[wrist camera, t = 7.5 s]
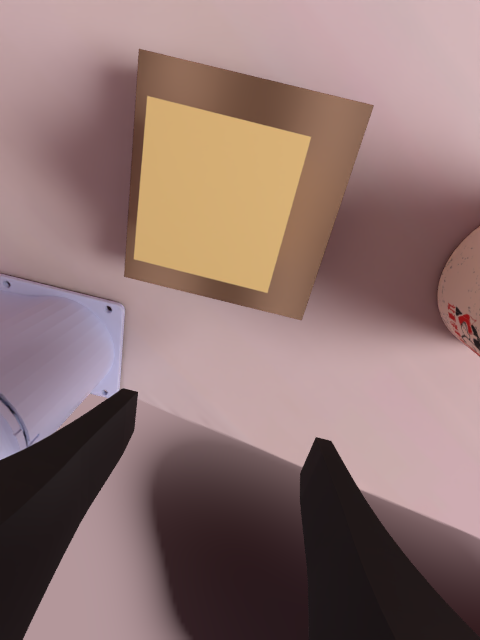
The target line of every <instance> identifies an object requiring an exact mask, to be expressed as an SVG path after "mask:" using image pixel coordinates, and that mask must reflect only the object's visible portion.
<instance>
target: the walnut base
mask: <svg viewBox="0 0 480 640" xmlns="http://www.w3.org/2000/svg"><path fill="white" fill-rule="evenodd" d="M147 96H150V97H154V98H158V99H162V100H166V101H170V102H174V103H178V104H182V105H186V106H190V107H194V108H198V109H202V110H206V111H210V112H214V113H218V114H222V115H226V116H230V117H234V118H238V119H242V120H246V121H250V122H254V123H258V124H262V125H266V126H270V127H273V128H277V129H281V130H285V131H289V132H293V133H297V134H301V135H305V136H309V137H311V140H310V143H309V147H308V151H307V154H306V158H305V161H304V165H303V168H302V172H301V175H300V179H299V183H298V186H297V190H296V193H295V197H294V200H293V204H292V207H291V211H290V215H289V218H288V222H287V225H286V229H285V232H284V236H283V239H282V243H281V247H280V250H279V254H278V257H277V261H276V264H275V268H274V271H273V275H272V279H271V282H270V286H269V289H268V293H265V292H262V291H258V290H254V289H250V288H246V287H242V286H238V285H234V284H230V283H226V282H222V281H218V280H214V279H210V278H206V277H202V276H198V275H194V274H190V273H186V272H182V271H178V270H175V269H171V268H167V267H163V266H159V265H155V264H151V263H147V262H143V261H139V260H135V259H134V249H135V237H136V225H137V213H138V202H139V190H140V178H141V166H142V154H143V142H144V130H145V118H146V106H147ZM373 106H374V105H370V104H366V103H362V102H358V101H354V100H349V99H345V98H341V97H337V96H333V95H329V94H324V93H320V92H316V91H312V90H308V89H304V88H300V87H295V86H291V85H287V84H283V83H279V82H275V81H271V80H266V79H262V78H258V77H254V76H250V75H246V74H241V73H237V72H233V71H229V70H225V69H221V68H217V67H212V66H208V65H204V64H200V63H196V62H192V61H188V60H183V59H179V58H175V57H171V56H167V55H163V54H158V53H154V52H150V51H146V50H142V49H139V56H138V71H137V87H136V102H135V118H134V133H133V148H132V164H131V179H130V194H129V210H128V225H127V241H126V256H125V271H124V277H128V278H132V279H136V280H140V281H144V282H148V283H152V284H156V285H160V286H164V287H168V288H172V289H177V290H181V291H185V292H189V293H193V294H197V295H201V296H205V297H209V298H213V299H217V300H221V301H225V302H229V303H233V304H237V305H241V306H246V307H250V308H254V309H258V310H262V311H266V312H270V313H274V314H278V315H282V316H286V317H290V318H294V319H298V320H302V318H303V315H304V312H305V309H306V306H307V303H308V300H309V297H310V294H311V291H312V288H313V285H314V282H315V279H316V276H317V273H318V270H319V267H320V264H321V261H322V258H323V255H324V252H325V249H326V246H327V243H328V240H329V237H330V234H331V231H332V228H333V225H334V222H335V219H336V216H337V214H338V211H339V208H340V205H341V202H342V199H343V196H344V193H345V190H346V187H347V184H348V181H349V178H350V175H351V172H352V169H353V166H354V163H355V160H356V157H357V154H358V151H359V148H360V145H361V142H362V139H363V136H364V133H365V130H366V127H367V124H368V121H369V118H370V115H371V112H372V109H373Z"/></svg>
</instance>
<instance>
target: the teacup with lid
mask: <svg viewBox="0 0 480 640" xmlns="http://www.w3.org/2000/svg"><path fill="white" fill-rule="evenodd" d="M437 299H438V308H439V312H440V315H441V318H442V320H443V322H444V324H445V325H446V327H447V328H448V329H449V330H450V332H451V333H452V334H453V335H454V336H455V337H457V338H458V339H459V340H460V341H461V342H463V343H464V344H465V345H466V346H467V347H469V348H470V349H471V350H472V351H473V352H475V353H476V354H477V355H478V356H480V226H479V227H478V228H477V229H475V230H474V231H473V232H472V233H471V234H470V235H468V236H467V237H466V238H465V239H464V240H463V241H462V242H461V243H460V245H459V246H458V247H457V248H456V249H455V251H454V252H453V254H452V255H451V256H450V258H449V260H448V262H447V263H446V265H445V267H444V270H443V272H442V275H441V277H440V281H439V286H438V296H437Z"/></svg>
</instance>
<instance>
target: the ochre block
mask: <svg viewBox="0 0 480 640" xmlns="http://www.w3.org/2000/svg"><path fill="white" fill-rule="evenodd" d="M310 140H311V137H309V136H305V135H301V134H297V133H293V132H289V131H285V130H281V129H277V128H273V127H270V126H266V125H262V124H258V123H254V122H250V121H246V120H242V119H238V118H234V117H230V116H226V115H222V114H218V113H214V112H210V111H206V110H202V109H198V108H194V107H190V106H186V105H182V104H178V103H174V102H170V101H166V100H162V99H158V98H154V97H150V96H147V106H146V118H145V130H144V142H143V154H142V166H141V178H140V190H139V202H138V213H137V225H136V237H135V249H134V259H135V260H139V261H143V262H147V263H151V264H155V265H159V266H163V267H167V268H171V269H175V270H178V271H182V272H186V273H190V274H194V275H198V276H202V277H206V278H210V279H214V280H218V281H222V282H226V283H230V284H234V285H238V286H242V287H246V288H250V289H254V290H258V291H262V292H265V293H268V289H269V286H270V282H271V279H272V275H273V271H274V268H275V264H276V261H277V257H278V254H279V250H280V247H281V243H282V239H283V236H284V232H285V229H286V225H287V222H288V218H289V215H290V211H291V207H292V204H293V200H294V197H295V193H296V190H297V186H298V183H299V179H300V175H301V172H302V168H303V165H304V161H305V158H306V154H307V151H308V147H309V143H310Z"/></svg>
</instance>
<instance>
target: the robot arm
mask: <svg viewBox="0 0 480 640" xmlns="http://www.w3.org/2000/svg"><path fill="white" fill-rule="evenodd" d="M8 282H9V283H10V285H11V286H10V285H9V284H8ZM107 306H110V307H111V308H112V311H110V310H109V309H108V308H107ZM124 317H125V308H124V306H123V305H122V304H120V303H118V302H114V301H110V300H106V299H102V298H98V297H93V296H89V295H85V294H81V293H77V292H73V291H69V290H65V289H61V288H57V287H53V286H49V285H45V284H41V283H37V282H33V281H29V280H25V279H21V278H17V277H13V276H9V275H4V274H0V640H23V638H24V636H25V633H26V631H27V629H28V627H29V625H30V623H31V620H32V619H33V616H34V614H35V612H36V610H37V608H38V606H39V604H40V602H41V600H42V598H43V596H44V594H45V592H46V590H47V587H48V585H49V583H50V581H51V579H52V577H53V575H54V573H55V571H56V569H57V567H58V565H59V563H60V561H61V559H62V557H63V555H64V553H65V551H66V549H67V548H68V545H69V544H70V542H71V540H72V538H73V536H74V534H75V532H76V530H77V528H78V526H79V524H80V522H81V521H82V519H83V517H84V516H85V514H86V512H87V510H88V509H89V507H90V506H91V504H92V502H93V501H94V499H95V498H96V496H97V495H98V493H99V491H100V490H101V488H102V487H103V485H104V484H105V482H106V480H107V479H108V477H109V476H110V474H111V472H112V471H113V469H114V468H115V466H116V464H117V463H118V461H119V460H120V458H121V456H122V455H123V453H124V451H125V449H126V446H127V445H128V442H129V440H130V438H131V436H132V434H133V432H134V427H135V416H136V407H137V397H138V392H136V391H132V390H128V389H124V388H123V389H121V390H119V389H120V375H121V360H122V346H123V332H124ZM105 390H106V391H107V392H106V391H105ZM89 394H94V395H98V396H102V397H106V398H108V399H106V400H105V401H104V402H102V403H101V404H99V405H98V406H96V407H95V408H93V409H92V410H90V411H89V412H87V413H86V414H84V415H83V416H81V417H80V418H78V419H76V420H75V421H73V422H72V423H70V424H68V425H67V426H65V427H63V428H62V429H60V430H58V431H56V430H57V429H58V428H59V427H60V426H61V425H62V424H63V423H64V422H65V420H66V419H67V418H68V417H69V416H70V414H72V413H73V411H74V410H75V409H76V408H77V407H78V406H79V405H80V404H81V403H82V401H83V400H84V399H85V398H86V397H87V396H88V395H89ZM300 505H301V515H302V525H303V534H304V544H305V553H306V563H307V575H308V604H309V605H308V606H309V607H308V608H309V640H480V637H479V636H478V635H477V634H476V633H475V632H474V631H473V630H472V629H471V628H470V627H469V626H468V625H467V624H466V623H465V622H464V621H463V620H462V619H461V618H460V617H459V616H458V615H457V613H456V612H455V611H454V610H453V609H452V608H451V607H450V606H449V605H448V604H447V603H446V602H445V601H444V600H443V599H442V597H441V596H440V595H439V594H438V593H437V592H436V591H435V590H434V589H433V588H432V586H431V585H430V584H429V583H428V582H427V580H426V579H425V578H424V577H423V576H422V575H421V573H420V572H419V571H418V570H417V569H416V568H415V566H414V565H413V564H412V563H411V562H410V561H409V559H408V558H407V557H406V555H405V554H404V553H403V552H402V550H401V549H400V548H399V546H398V545H397V544H396V542H395V541H394V540H393V538H392V537H391V536H390V535H389V533H388V532H387V531H386V529H385V528H384V526H383V525H382V524H381V522H380V521H379V519H378V518H377V516H376V515H375V513H374V512H373V510H372V509H371V507H370V506H369V504H368V503H367V501H366V500H365V498H364V497H363V495H362V493H361V492H360V490H359V488H358V487H357V485H356V483H355V482H354V480H353V478H352V477H351V475H350V473H349V471H348V470H347V468H346V466H345V464H344V463H343V461H342V459H341V457H340V456H339V454H338V452H337V450H336V449H335V447H334V445H333V443H332V442H331V441H329V440H325V439H321V438H317V437H316V438H315V441H314V443H313V445H312V447H311V450H310V452H309V454H308V457H307V459H306V461H305V463H304V466H303V468H302V470H301V473H300Z"/></svg>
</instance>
